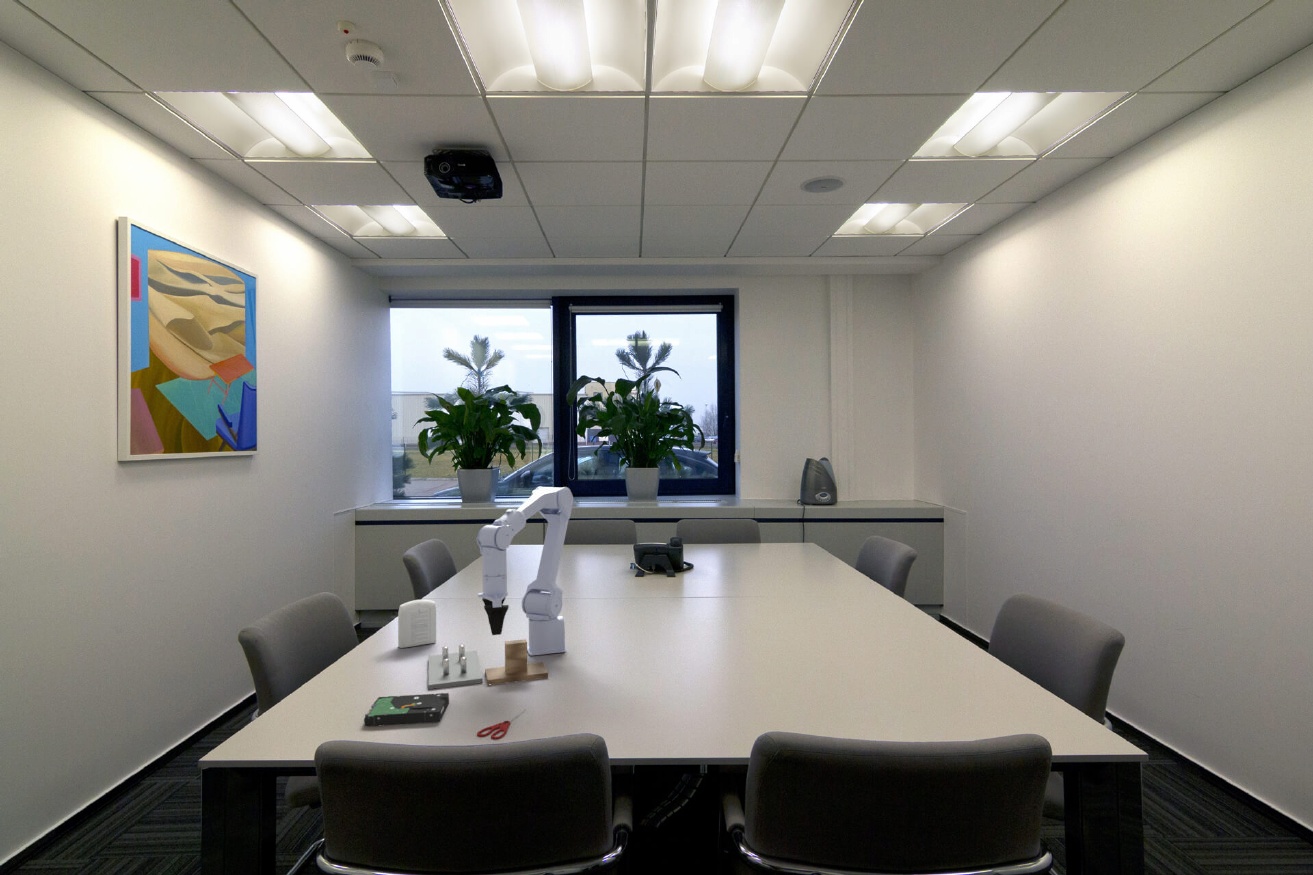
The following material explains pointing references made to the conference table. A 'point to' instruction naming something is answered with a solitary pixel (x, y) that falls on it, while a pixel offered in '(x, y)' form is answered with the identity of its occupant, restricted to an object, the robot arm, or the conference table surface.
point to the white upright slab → (416, 623)
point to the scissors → (501, 726)
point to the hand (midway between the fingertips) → (495, 630)
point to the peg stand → (454, 668)
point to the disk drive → (407, 709)
